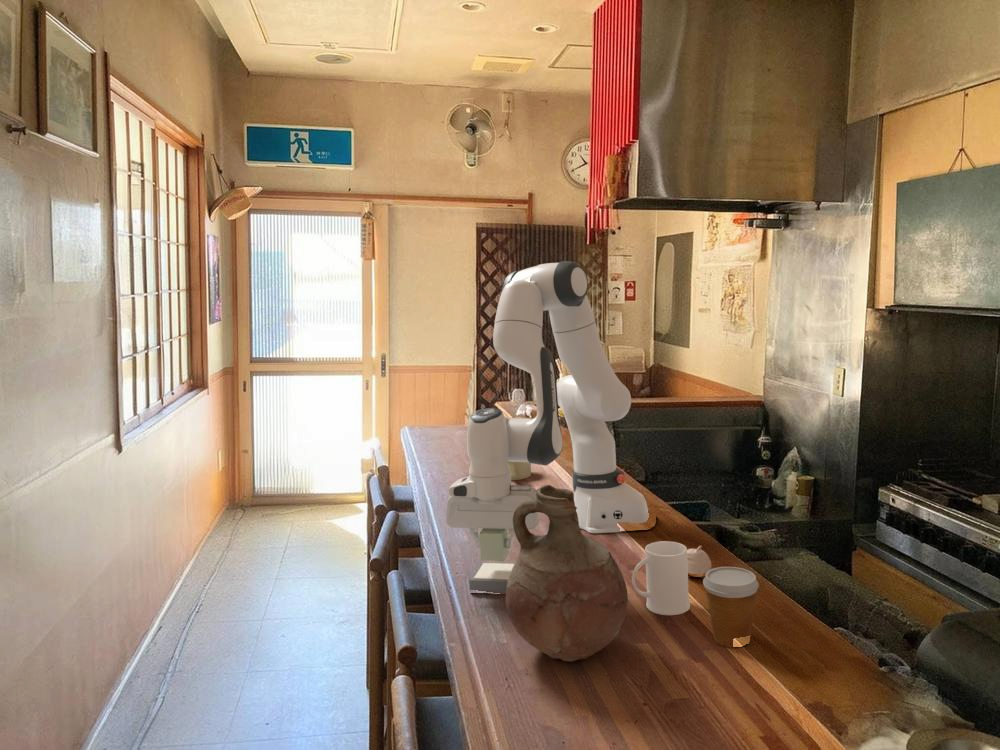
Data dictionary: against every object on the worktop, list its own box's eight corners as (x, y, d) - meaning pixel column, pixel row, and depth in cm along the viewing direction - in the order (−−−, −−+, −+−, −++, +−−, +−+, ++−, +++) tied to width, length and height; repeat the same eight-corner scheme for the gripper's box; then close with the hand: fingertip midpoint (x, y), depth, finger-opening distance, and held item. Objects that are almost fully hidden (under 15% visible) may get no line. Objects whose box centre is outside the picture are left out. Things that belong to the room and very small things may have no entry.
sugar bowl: (542, 479, 250) (539, 433, 248) (510, 485, 246) (507, 438, 244) (523, 469, 264) (520, 426, 262) (492, 474, 260) (489, 430, 258)
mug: (640, 621, 149) (638, 561, 148) (624, 603, 158) (621, 546, 156) (697, 611, 152) (695, 552, 150) (678, 594, 160) (676, 538, 158)
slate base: (525, 576, 174) (524, 562, 174) (515, 595, 165) (514, 581, 164) (481, 574, 177) (481, 561, 176) (470, 593, 167) (469, 579, 167)
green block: (508, 552, 172) (507, 526, 171) (503, 561, 167) (501, 534, 166) (486, 551, 173) (485, 525, 172) (481, 560, 168) (479, 533, 167)
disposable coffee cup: (752, 657, 134) (750, 590, 132) (697, 646, 139) (695, 581, 137) (765, 633, 142) (764, 570, 140) (713, 623, 147) (711, 562, 145)
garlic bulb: (678, 580, 167) (677, 544, 166) (682, 569, 173) (681, 534, 171) (710, 583, 164) (709, 546, 163) (713, 571, 170) (712, 536, 169)
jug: (629, 685, 127) (621, 508, 123) (499, 681, 131) (487, 509, 127) (630, 624, 148) (624, 471, 144) (518, 622, 152) (508, 473, 148)
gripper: (540, 481, 168) (544, 543, 170) (450, 480, 173) (454, 540, 175) (535, 490, 162) (538, 553, 164) (441, 488, 167) (445, 550, 169)
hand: (494, 547), depth 170 cm, fingers closed on green block, 5 cm apart
